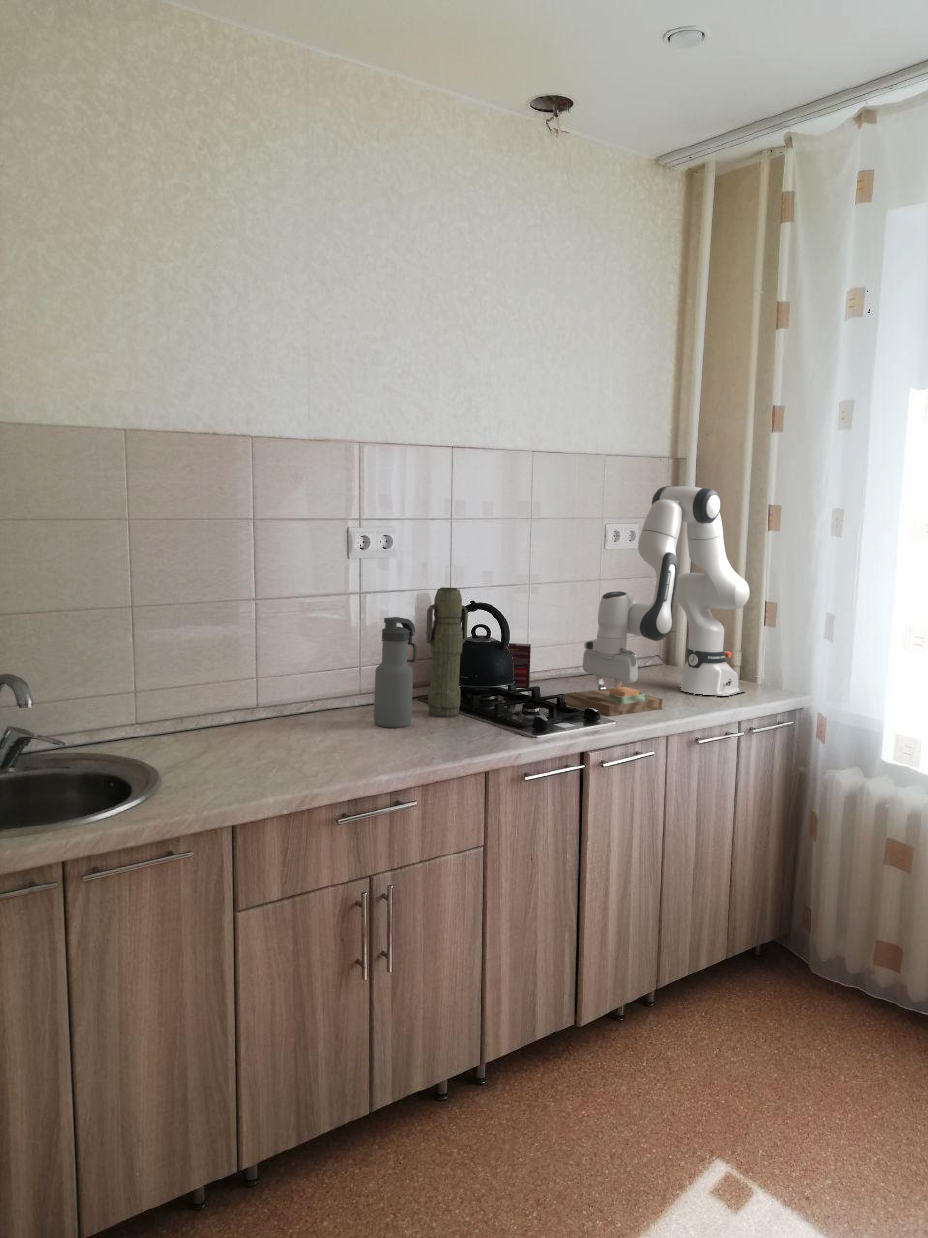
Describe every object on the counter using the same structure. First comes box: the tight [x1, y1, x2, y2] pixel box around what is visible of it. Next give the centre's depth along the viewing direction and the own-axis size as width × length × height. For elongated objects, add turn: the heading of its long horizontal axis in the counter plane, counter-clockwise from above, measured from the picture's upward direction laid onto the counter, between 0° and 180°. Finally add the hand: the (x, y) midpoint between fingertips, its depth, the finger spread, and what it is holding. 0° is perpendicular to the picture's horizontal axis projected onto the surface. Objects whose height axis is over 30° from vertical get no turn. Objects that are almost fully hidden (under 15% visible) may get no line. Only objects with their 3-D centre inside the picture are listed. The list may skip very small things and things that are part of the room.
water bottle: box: [373, 616, 418, 729], centre depth 240 cm, size 10×10×28 cm
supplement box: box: [508, 642, 532, 689], centre depth 287 cm, size 9×5×16 cm, turn 84°
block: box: [610, 686, 640, 697], centre depth 270 cm, size 6×6×3 cm
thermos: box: [426, 586, 469, 719], centre depth 254 cm, size 9×12×35 cm
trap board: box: [563, 687, 663, 717], centre depth 276 cm, size 22×19×5 cm
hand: (608, 692), depth 276 cm, fingers open, 4 cm apart
